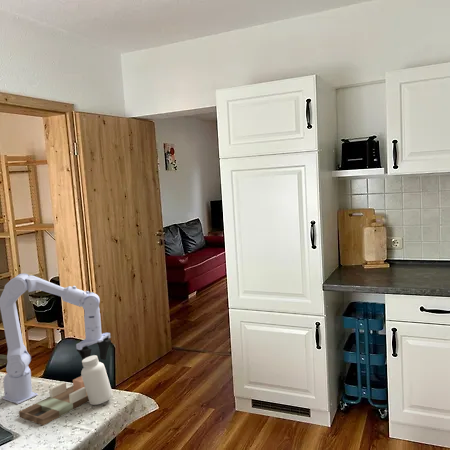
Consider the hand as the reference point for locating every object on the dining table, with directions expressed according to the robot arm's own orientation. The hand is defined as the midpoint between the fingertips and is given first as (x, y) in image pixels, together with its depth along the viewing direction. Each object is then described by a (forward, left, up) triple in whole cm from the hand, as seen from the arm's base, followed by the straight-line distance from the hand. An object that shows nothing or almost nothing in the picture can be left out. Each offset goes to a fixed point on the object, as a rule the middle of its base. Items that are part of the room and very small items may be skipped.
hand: (95, 362), depth 163 cm
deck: (0, -16, -9) cm, 19 cm away
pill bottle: (+10, -8, -9) cm, 16 cm away
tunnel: (0, -13, -7) cm, 15 cm away
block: (0, -7, -7) cm, 10 cm away
